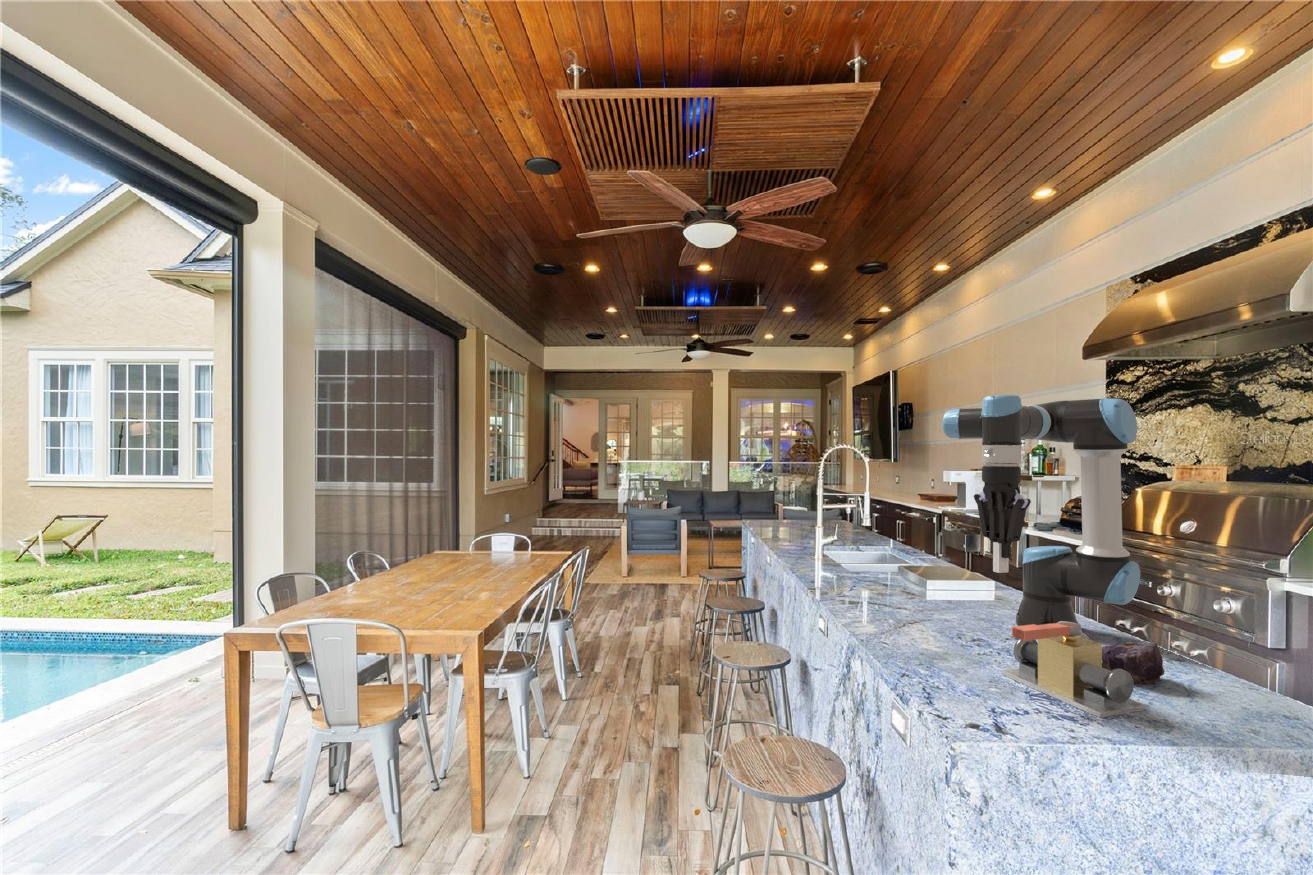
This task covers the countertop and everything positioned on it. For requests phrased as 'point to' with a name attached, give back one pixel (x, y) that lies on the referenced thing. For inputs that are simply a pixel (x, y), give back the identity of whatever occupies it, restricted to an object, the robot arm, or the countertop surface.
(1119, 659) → the rock
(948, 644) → the countertop surface
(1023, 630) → the lever
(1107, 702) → the valve
